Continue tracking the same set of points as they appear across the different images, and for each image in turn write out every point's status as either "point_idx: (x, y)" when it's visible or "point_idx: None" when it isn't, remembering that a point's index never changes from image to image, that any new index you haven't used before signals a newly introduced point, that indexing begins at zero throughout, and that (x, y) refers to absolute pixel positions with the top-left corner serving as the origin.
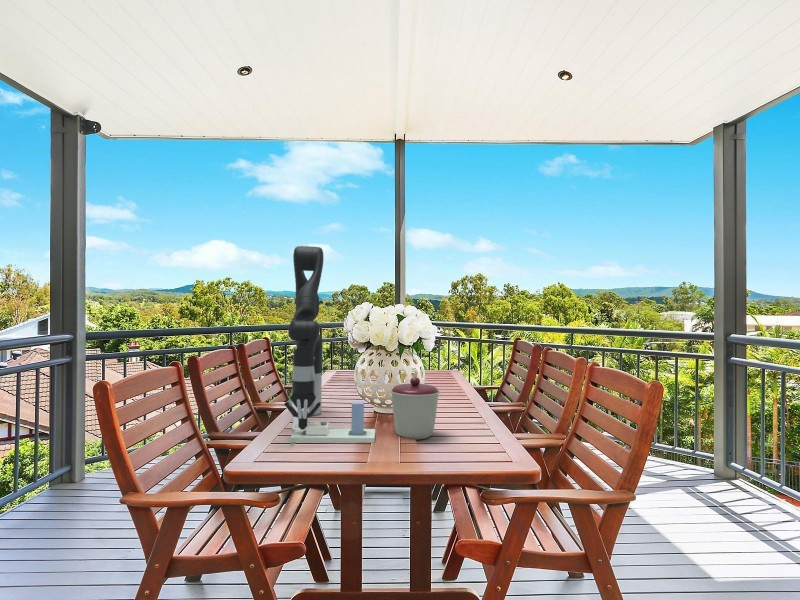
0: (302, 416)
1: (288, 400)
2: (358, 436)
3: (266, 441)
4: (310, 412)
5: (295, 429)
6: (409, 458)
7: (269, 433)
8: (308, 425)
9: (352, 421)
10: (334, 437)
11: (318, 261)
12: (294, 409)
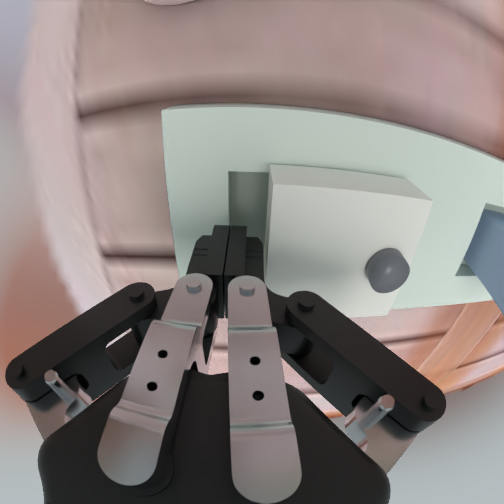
0: (216, 305)
1: (37, 420)
2: (475, 287)
3: (74, 231)
4: (299, 372)
5: (151, 2)
6: (480, 350)
7: (36, 95)
8: (275, 282)
9: (501, 308)
10: (396, 305)
11: None
12: (112, 338)
